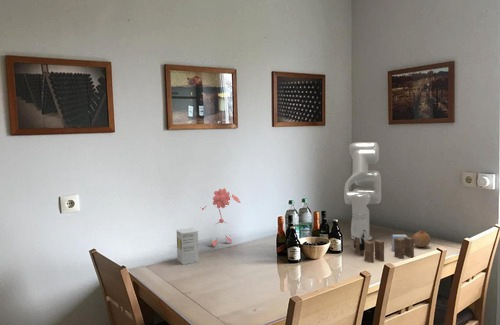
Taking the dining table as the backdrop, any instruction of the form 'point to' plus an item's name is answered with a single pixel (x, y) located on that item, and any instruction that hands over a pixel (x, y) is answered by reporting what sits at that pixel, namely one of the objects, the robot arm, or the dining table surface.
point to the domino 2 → (369, 251)
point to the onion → (421, 239)
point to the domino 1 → (357, 250)
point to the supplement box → (187, 246)
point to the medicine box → (397, 237)
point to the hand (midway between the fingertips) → (359, 248)
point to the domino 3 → (379, 250)
